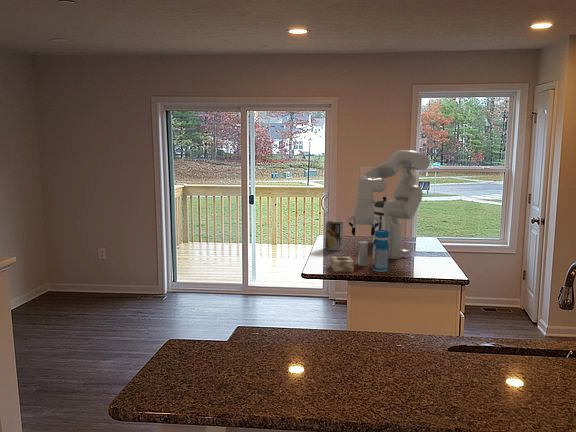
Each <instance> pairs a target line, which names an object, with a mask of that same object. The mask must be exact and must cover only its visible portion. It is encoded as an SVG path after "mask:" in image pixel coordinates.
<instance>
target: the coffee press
mask: <svg viewBox="0 0 576 432" xmlns="http://www.w3.org/2000/svg"><path fill="white" fill-rule="evenodd" d="M382 199H383V200H377V201H376V200H375V203H373V207H374V216H375V217H376V218H378V219H380V220H381V221H380V223H379V225H378V226H377V227H376V228H375V231H376V230H384V223H385V221H384V211H383V207H384V204H385V202H387V201H388V200H387V196H383V197H382ZM376 223H377V220H375V219H374V224H376ZM375 239H376V237H375V234H374V236H372V240H371V241H370V244H371V245H373V242H374V240H375Z"/></svg>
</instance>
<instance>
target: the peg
mask: <svg viewBox="0 0 576 432" xmlns="http://www.w3.org/2000/svg"><path fill="white" fill-rule="evenodd" d="M357 247H358V248H357V249H358V251H357V254H358V255H357V265H358V266H364V267H365V266H368V251H369V250H368V249H369V248H368V247H369V242H368V241H360V240H359V241H358V246H357Z"/></svg>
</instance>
